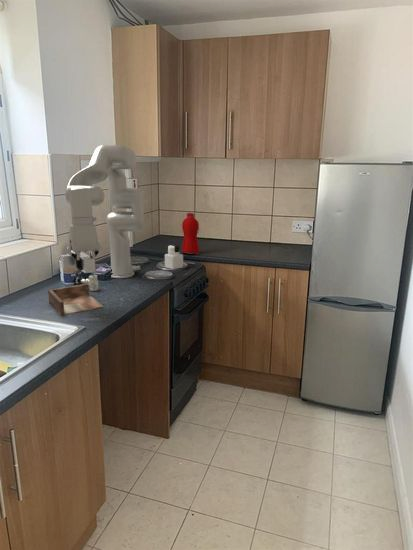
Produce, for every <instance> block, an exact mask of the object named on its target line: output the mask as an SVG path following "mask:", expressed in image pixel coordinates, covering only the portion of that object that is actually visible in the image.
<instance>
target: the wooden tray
mask: <svg viewBox="0 0 413 550" xmlns="http://www.w3.org/2000/svg"><path fill="white" fill-rule="evenodd" d="M62 301H63V302H64V313H65V314H64V315H70V314H71V315H72V314H77V313H80V312H86V311H87V312H88V311H91V310H96V309H102V308H104V306H103V305H102V304H101V303H100V302H99V301H97V300H96V298H94V297H93V296H91V295H90V294H89V295H86V296H80V297H74V298H68V299H62ZM49 303H50V304H51V302H49ZM52 307H53V308H54V306H53V305H52ZM64 315H63V314H62V315H61V316H64Z"/></svg>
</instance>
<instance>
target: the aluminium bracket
mask: <svg viewBox="0 0 413 550" xmlns="http://www.w3.org/2000/svg"><path fill="white" fill-rule="evenodd" d="M95 259H96V258H92V257H91V256H90V254H87V253H85V252H81V253H80V260H81V264H82V270H80V271H81V272H83V273H84V274H88V273H96V260H95ZM60 264H61V269H63V270H68V269H76V268H77V267H76V259H75V258H74V257H72V256H71V255H69V254H67V253H66V254H60ZM77 269H78V268H77Z"/></svg>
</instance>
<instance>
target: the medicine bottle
mask: <svg viewBox="0 0 413 550" xmlns="http://www.w3.org/2000/svg"><path fill="white" fill-rule="evenodd" d="M164 267H165V268H166V269H170V270H177V269H181V268H183V267H184V255H183V253H182V254H181V253H180V246H179V245H178V244H170V245H168V246H167V253H165V254H164Z"/></svg>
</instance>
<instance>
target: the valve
mask: <svg viewBox="0 0 413 550" xmlns="http://www.w3.org/2000/svg"><path fill="white" fill-rule="evenodd" d="M72 278H73V280H71V283H73V284H72V286H76V285H83V284H88V285H89V292H90V291H91V292H97V291H98V290H99V280H98V275H97V274H90V275H89V276H88V278H86V279H85V278H84V277H83V274H82V273H79V272H75V275H72Z"/></svg>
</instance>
